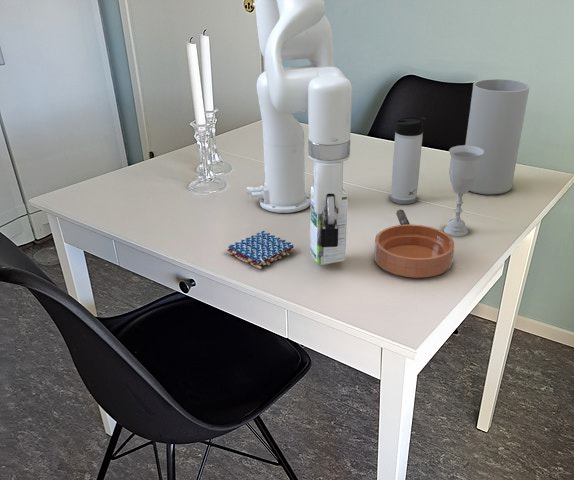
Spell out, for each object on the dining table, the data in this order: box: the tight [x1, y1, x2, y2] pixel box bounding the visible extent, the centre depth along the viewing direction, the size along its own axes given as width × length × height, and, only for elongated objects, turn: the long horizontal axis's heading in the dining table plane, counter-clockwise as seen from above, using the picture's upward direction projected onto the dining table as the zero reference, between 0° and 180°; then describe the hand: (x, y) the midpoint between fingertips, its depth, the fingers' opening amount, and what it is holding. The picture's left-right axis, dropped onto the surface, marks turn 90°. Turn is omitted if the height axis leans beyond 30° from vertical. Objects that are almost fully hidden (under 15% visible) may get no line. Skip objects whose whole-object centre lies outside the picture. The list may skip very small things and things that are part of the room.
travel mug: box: [390, 116, 426, 205], centre depth 143 cm, size 6×7×20 cm
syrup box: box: [309, 185, 349, 266], centre depth 117 cm, size 6×6×14 cm
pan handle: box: [395, 208, 411, 225], centre depth 129 cm, size 9×2×2 cm, turn 1°
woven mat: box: [226, 230, 295, 271], centre depth 125 cm, size 10×11×2 cm
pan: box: [373, 223, 455, 278], centre depth 120 cm, size 15×15×4 cm
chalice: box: [443, 144, 484, 237], centre depth 128 cm, size 7×7×18 cm
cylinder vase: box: [464, 78, 531, 196], centre depth 147 cm, size 12×12×25 cm
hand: (327, 236), depth 118 cm, fingers closed on syrup box, 6 cm apart
